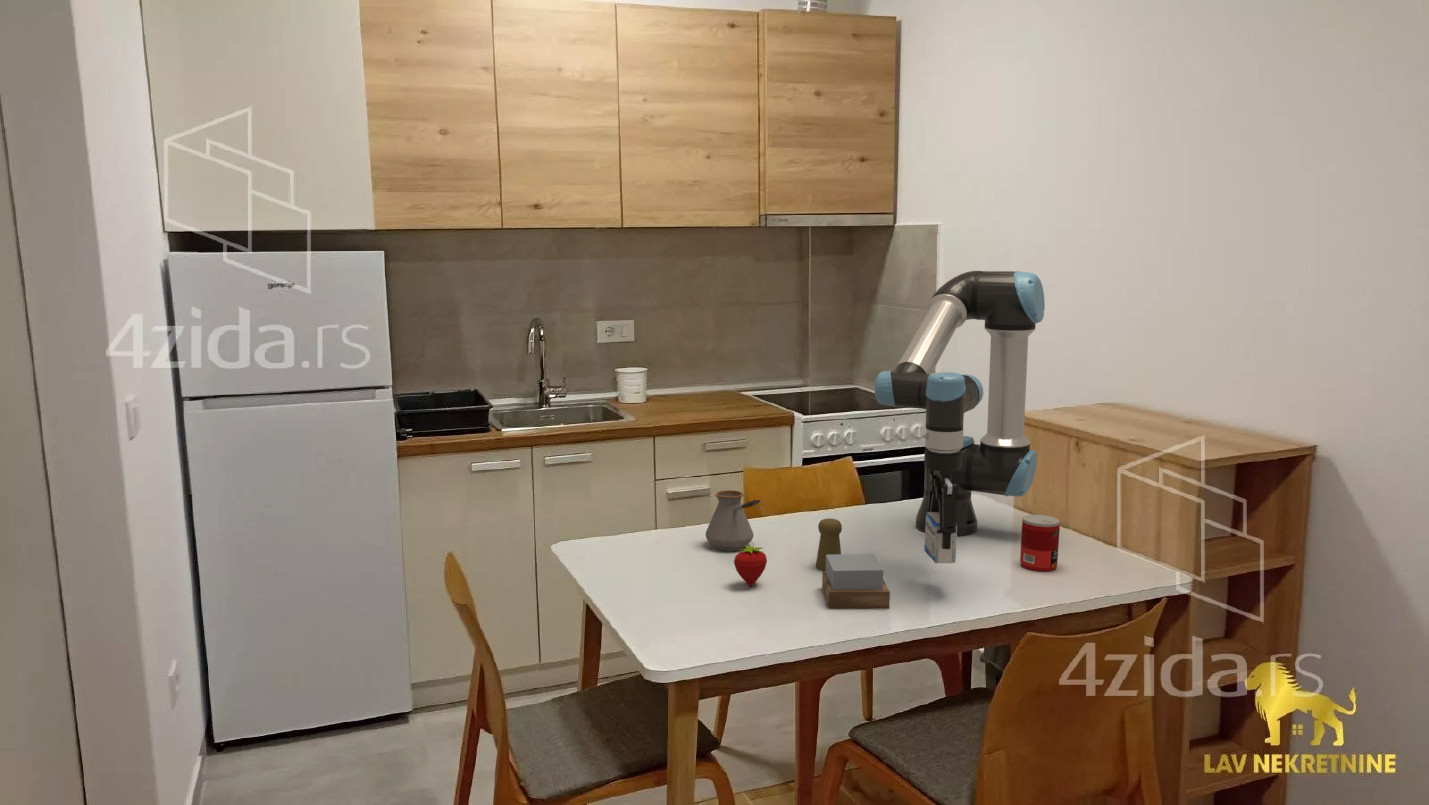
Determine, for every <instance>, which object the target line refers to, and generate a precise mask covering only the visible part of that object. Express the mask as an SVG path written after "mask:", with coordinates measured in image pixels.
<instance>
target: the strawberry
mask: <svg viewBox="0 0 1429 805" xmlns="http://www.w3.org/2000/svg"><path fill="white" fill-rule="evenodd" d="M750 541H751V542H750V543H751V544H752V546H749V545H748V544H747V545H746V547H745V548H743V549H740V550H738V553H737V554H736V555H735V556H734V561H733V564H734V568H735V571H736V572H737V573H738V575H739V576H740V577H741V579H742V580H743V581H744V582H745V583H746V584H747V585H748V586H749V587H751V586H755V585H756V583H757V581H758V580H759V578H760V577H761V576H762V574H763V573H764V571H765V569H766V566H767V563H768V560H767V559H768V558H767V555H766V554H765V553H764V551H762V549H763V547H761V546H760V547H756V546H755V545H754V543H753V541H752V540H750ZM754 546H755V547H754ZM760 549H761V550H760ZM739 551H740V552H739Z"/></svg>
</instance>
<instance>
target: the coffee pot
mask: <svg viewBox="0 0 1429 805" xmlns="http://www.w3.org/2000/svg"><path fill="white" fill-rule="evenodd" d="M743 496H744V493H743V492H742V491H739V490H720V491H717V492H716V494H715V497H716V498H717V501H718V503H717V505H716V508H715V511H714V513H713V515H712V517H711V520H710V522H709V524H708V527H707V528H706V530H705V538H706V540H707V542H708V543H710V545H711V546H714V547H715V549H716V550H720V551H727V552H728V551H729V552H731V551H739V550H741V549H746V545H747V546H748V545H749V544H750V543H752V542H751V541H752V540H753V538H754V532H753V529H752V527H751V524H750V522H749V519H748V517H747V515H746V512H745V510H744V509H747V508H751V507H753V506H754V507H755V509H758V510H761V509H762V507H764V505H765V504H764V502H763V501H762V500H760V499H753V500H752V501H751V500H750V501H747V502H745V503H743V504H742V502H741V501H742V497H743ZM759 503H761V504H762V507H760V508H759V507H756V505H759ZM750 540H751V541H750ZM714 547H713V548H714Z"/></svg>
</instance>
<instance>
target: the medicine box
mask: <svg viewBox="0 0 1429 805" xmlns="http://www.w3.org/2000/svg"><path fill="white" fill-rule="evenodd" d="M937 530H940V519H939V512H927V513H926V526H925V532H924V549H923V550H924V552H925V553H926V555H927V556H928V557H929V558H930V559H931V560H932V561H933V562H934V563H935V564H939V563H938V534H939V533H937ZM957 537H958V536H957V523H956V532H955V533H953V539H952V563H951V564H954V563H956V561H957V558H956V557H957V555H956V554H957V539H958V538H957Z"/></svg>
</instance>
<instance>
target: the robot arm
mask: <svg viewBox="0 0 1429 805" xmlns="http://www.w3.org/2000/svg"><path fill="white" fill-rule="evenodd" d="M1044 292H1045V291H1044V286H1043V284H1042V281H1041V279H1040V277H1039V276H1038V275H1037V274H1036V273H1034V272H1028V271H1027V272H1026V271H1025V272H1024V271H1018V270H1017V271H1016V270H1015V271H1014V270H1013V271H1011V270H1010V271H1008V270H1004V271H1001V270H998V271H997V270H995V271H994V270H992V271H991V270H988V271H985V270H984V271H983V270H971V271H966V272H964V273H960V274H959V275H956V276H954V277H952V278H951V279H949V280H948V281H946V282H945V283H944V284H943V285H941V286H940V287H939V288H938V289H937V290H936V291H935V292H934V293H933V295H932V297H931V298H930V299H929V301H928V303H927V307H926V308H927V309H926V311H927V314H926V315H925V316H924V319H923V320H922V321H921V324H920V326H919V328H918V330H917V331H916V333H915V334H914V336H913V337H912V339H911V341H910V343H909V345H908V347H907V348H906V350H905V351H904V354H903V355H902V356H901V358H900V360H899V362H898V364H897V366H896V367H895V368H894V370H893V371H892V370H882V371H881V372H879V373H878V375H877V376H876V379H875V382H874V395H875V399H876V401H877V403H879V404H880V405H884V406H890V407H893V408H908V409H920V410H925V432H923V433H922V438H923V439H924V446H925V450H924V460H923V461H924V462H923V463H924V464H923V465H924V485H923V489H924V490H923V498H922V500H921V503H920V505H919V509H918V511H917V514H916V516H915V527H916V528H917V529H918V530H919V531H922V532H924V533H925V526H926V513H927V512H939V519H940V530H937V533H939V534H938V563H937V564H953V563H952V539H953V533H955V532H956V523H957V537H958V536H960V537H961V536H967V535H972V534H974V533H976V532H977V530H978V519H977V516H976V513H975V509H974V508H975V507H974V504H973V502H972V492H977V493H983V494H984V493H985V494H993V495H1000V496H1005V497H1016V498H1017V497H1018V498H1020V497H1024V496H1026V494H1028V492H1029V491H1030V488H1032V487H1031V486H1032V485H1033V481H1034V478H1035V475H1036V470H1037V464H1038V452H1037V451H1036V450H1034V449H1031V440H1029V438H1027V436H1026V435H1025V416H1026V414H1025V412H1026V396H1027V372H1028V353H1029V352H1028V351H1029V349H1028V347H1029V336H1030V335H1031V334H1032V333H1033V332H1035V331H1036V325H1037V324H1038V323H1041V322H1042V321H1043V320H1044V316H1045V315H1044V314H1045V309H1046V308H1045V302H1046V301H1045V300H1046V299H1045V293H1044ZM968 320H979V321H981V320H982V321H984V330H985V331H986V332H987V333H988V334H989V335H990V350H989V373H988V374H989V376H988V401H987V403H988V404H987V427H986V430H987V432H986V434H984V435H983V436H982V437H981V438H980V440H979V443H978V444H977V443H975V440H974V437H972V436H967V435H964V418H965V417H964V415H965V414H966V413H967V412H969V411H972V410H974V409H976V407H977V406H978V405H979V404H980V403H981V401H982V400H983V397H984V388H983V384H982V383H981V380H979V379H978V378H977V377H976V376H974V375H971V374H968V373H967V374H962V373H957V372H945V371H944V372H943V371H942V372H934V370H935V368H936V367H937V365H938V363H939V361H940V358H941V357H942V355H943V353H944V352H945V350H946V348H947V346H948V344H949V342H950V341H951V339H952V337H953V335H954V333H955V332H956V330H957V329H958V328H960V327H961V326H963V325H964V323H965V322H966V321H968ZM933 372H934V373H933Z"/></svg>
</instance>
